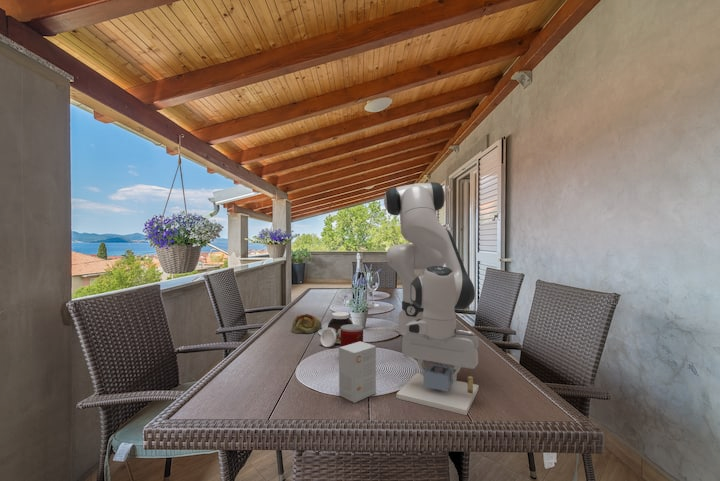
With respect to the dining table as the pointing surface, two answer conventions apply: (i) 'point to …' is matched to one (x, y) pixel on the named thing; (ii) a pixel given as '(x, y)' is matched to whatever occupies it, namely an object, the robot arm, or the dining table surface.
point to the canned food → (351, 334)
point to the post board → (438, 394)
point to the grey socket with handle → (438, 377)
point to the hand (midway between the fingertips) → (438, 377)
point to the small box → (357, 371)
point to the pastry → (306, 324)
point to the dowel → (470, 384)
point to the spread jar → (334, 329)
